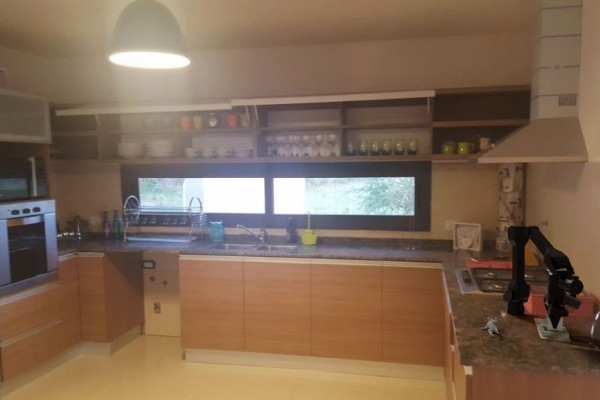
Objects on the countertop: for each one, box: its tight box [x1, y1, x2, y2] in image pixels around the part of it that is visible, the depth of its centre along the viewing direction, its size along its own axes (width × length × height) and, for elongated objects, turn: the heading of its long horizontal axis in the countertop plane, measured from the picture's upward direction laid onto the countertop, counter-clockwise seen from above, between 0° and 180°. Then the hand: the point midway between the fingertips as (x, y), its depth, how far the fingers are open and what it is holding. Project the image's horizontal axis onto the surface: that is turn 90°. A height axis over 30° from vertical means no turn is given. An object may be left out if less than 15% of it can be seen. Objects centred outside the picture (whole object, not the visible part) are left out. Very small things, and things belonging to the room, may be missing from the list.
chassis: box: [533, 317, 572, 344], centre depth 181 cm, size 10×23×3 cm, turn 159°
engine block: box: [545, 314, 564, 332], centre depth 175 cm, size 5×4×5 cm
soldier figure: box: [480, 316, 500, 337], centre depth 181 cm, size 8×5×12 cm
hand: (553, 326), depth 175 cm, fingers closed on engine block, 4 cm apart
